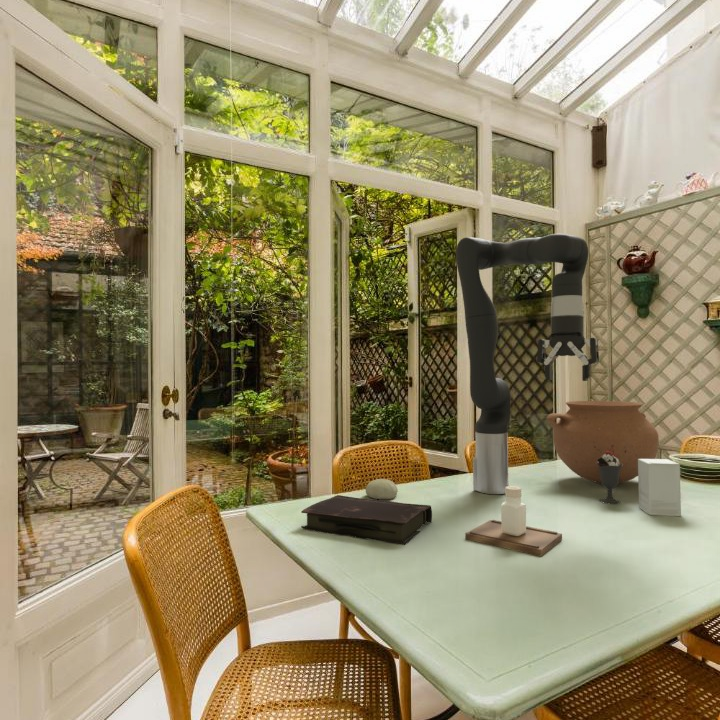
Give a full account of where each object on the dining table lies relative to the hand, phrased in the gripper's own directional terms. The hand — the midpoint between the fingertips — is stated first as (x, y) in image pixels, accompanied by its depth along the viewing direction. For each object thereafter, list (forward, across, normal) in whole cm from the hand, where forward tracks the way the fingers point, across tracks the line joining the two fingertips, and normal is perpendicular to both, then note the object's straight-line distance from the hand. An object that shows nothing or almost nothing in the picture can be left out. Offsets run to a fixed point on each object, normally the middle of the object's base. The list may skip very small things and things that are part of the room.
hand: (567, 380), depth 126 cm
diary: (+34, -33, -38) cm, 61 cm away
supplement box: (+33, +17, +15) cm, 40 cm away
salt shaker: (+32, -3, -27) cm, 42 cm away
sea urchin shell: (+34, -46, -15) cm, 59 cm away
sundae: (+33, +5, +18) cm, 38 cm away
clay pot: (+33, -2, +41) cm, 53 cm away
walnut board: (+33, -3, -27) cm, 43 cm away
